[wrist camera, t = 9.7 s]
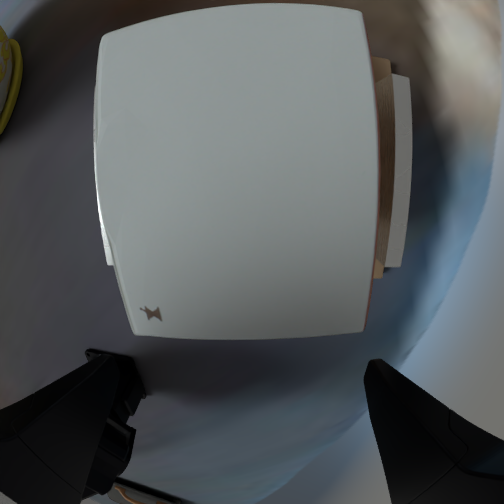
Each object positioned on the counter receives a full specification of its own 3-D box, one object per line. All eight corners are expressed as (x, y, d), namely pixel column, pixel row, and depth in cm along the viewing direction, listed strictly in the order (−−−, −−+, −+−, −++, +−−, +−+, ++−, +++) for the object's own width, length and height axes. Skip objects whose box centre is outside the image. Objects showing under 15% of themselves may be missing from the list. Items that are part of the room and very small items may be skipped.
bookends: (126, 235, 19) (83, 264, 14) (118, 106, 16) (69, 95, 10) (387, 235, 18) (427, 266, 13) (392, 101, 15) (437, 86, 9)
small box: (303, 220, 18) (367, 339, 6) (212, 223, 19) (128, 341, 7) (299, 102, 16) (367, 5, 4) (203, 108, 16) (91, 35, 4)
